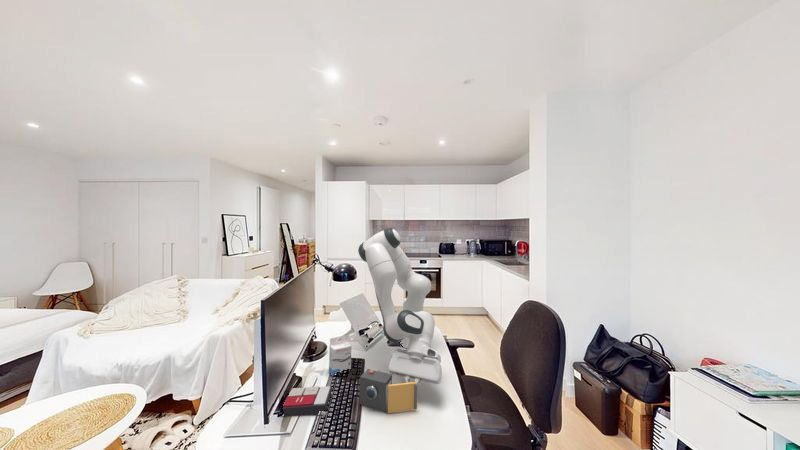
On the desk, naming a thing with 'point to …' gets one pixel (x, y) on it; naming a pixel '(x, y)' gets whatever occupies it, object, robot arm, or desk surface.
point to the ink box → (339, 354)
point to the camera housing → (374, 389)
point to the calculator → (307, 401)
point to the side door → (401, 397)
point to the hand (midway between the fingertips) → (410, 391)
